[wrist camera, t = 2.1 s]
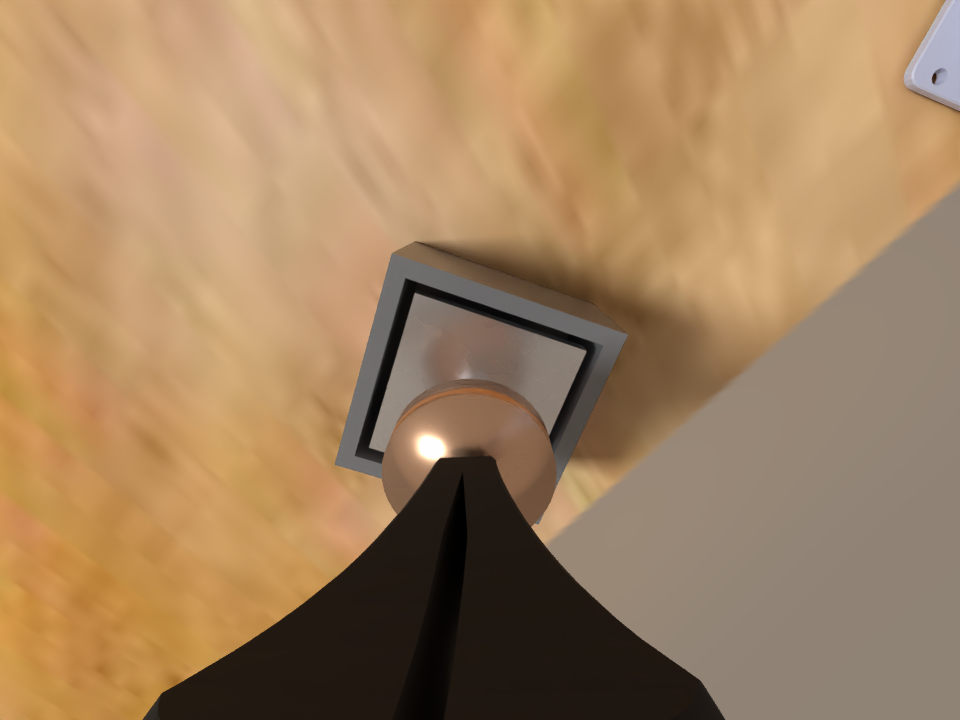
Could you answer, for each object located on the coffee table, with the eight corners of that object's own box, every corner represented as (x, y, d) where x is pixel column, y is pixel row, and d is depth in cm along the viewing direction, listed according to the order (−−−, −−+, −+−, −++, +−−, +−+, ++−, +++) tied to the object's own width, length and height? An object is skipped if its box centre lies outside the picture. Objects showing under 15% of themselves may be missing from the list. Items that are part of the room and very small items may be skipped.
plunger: (583, 345, 15) (629, 411, 10) (521, 484, 17) (536, 594, 12) (417, 289, 15) (384, 330, 10) (372, 439, 17) (326, 536, 12)
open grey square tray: (592, 302, 19) (628, 334, 14) (526, 455, 22) (538, 524, 17) (415, 240, 18) (391, 252, 14) (368, 406, 21) (334, 464, 16)
